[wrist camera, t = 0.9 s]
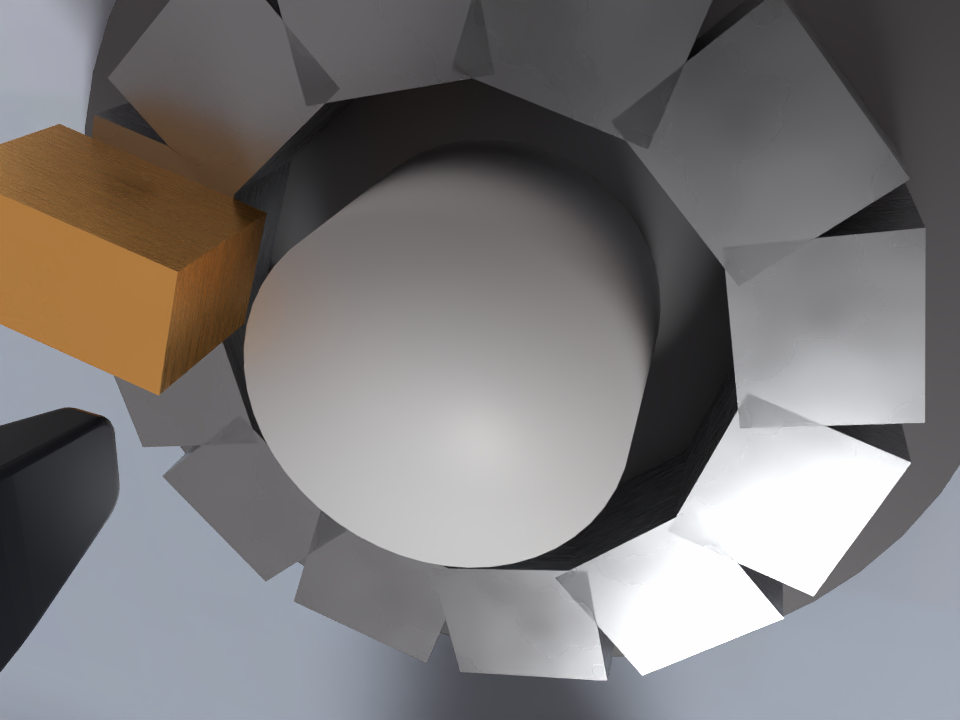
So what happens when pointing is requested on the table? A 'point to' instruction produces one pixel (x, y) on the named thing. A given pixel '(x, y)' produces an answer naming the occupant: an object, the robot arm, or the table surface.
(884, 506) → the cap base
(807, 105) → the grey toothed bowl
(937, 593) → the table surface
